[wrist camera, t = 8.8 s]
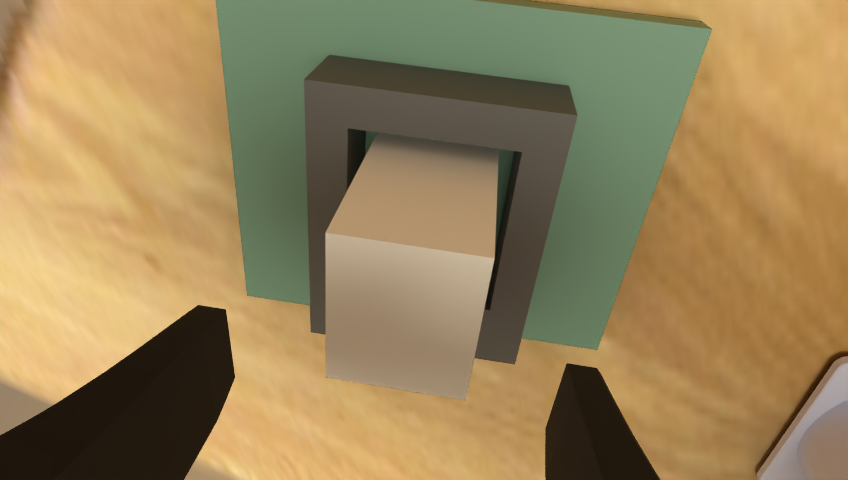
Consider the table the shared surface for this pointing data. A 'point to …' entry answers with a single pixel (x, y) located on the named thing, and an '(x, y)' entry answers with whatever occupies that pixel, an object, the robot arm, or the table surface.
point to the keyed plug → (411, 265)
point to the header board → (459, 137)
